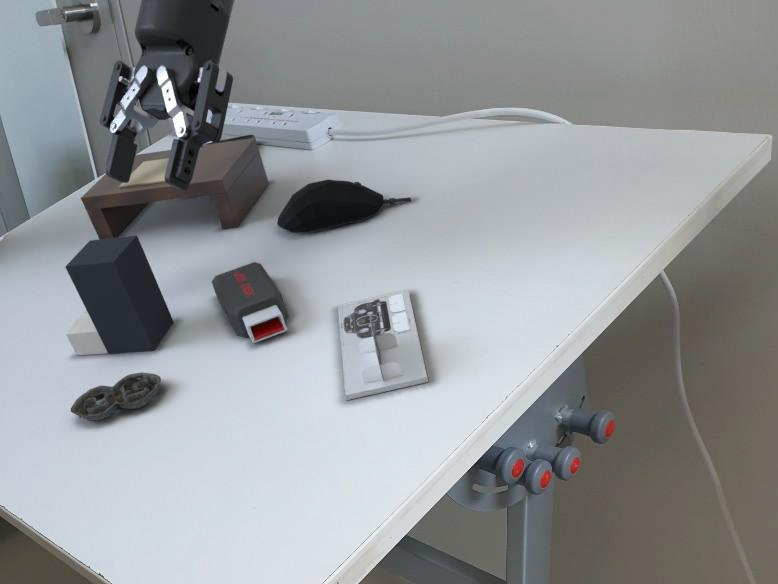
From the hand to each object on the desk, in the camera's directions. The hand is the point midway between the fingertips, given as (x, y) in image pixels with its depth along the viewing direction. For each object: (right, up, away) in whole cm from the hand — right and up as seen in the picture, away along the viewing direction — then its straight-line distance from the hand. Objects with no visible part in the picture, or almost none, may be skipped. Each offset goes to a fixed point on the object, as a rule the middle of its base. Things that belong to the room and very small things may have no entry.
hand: (145, 183), depth 79 cm
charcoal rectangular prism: (-3, -13, +5) cm, 14 cm away
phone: (0, +16, +35) cm, 39 cm away
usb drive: (+10, -11, +4) cm, 15 cm away
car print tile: (+22, -16, -5) cm, 27 cm away
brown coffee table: (-3, +7, +26) cm, 27 cm away
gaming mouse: (+17, +3, +16) cm, 24 cm away
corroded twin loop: (-1, -21, -4) cm, 21 cm away
